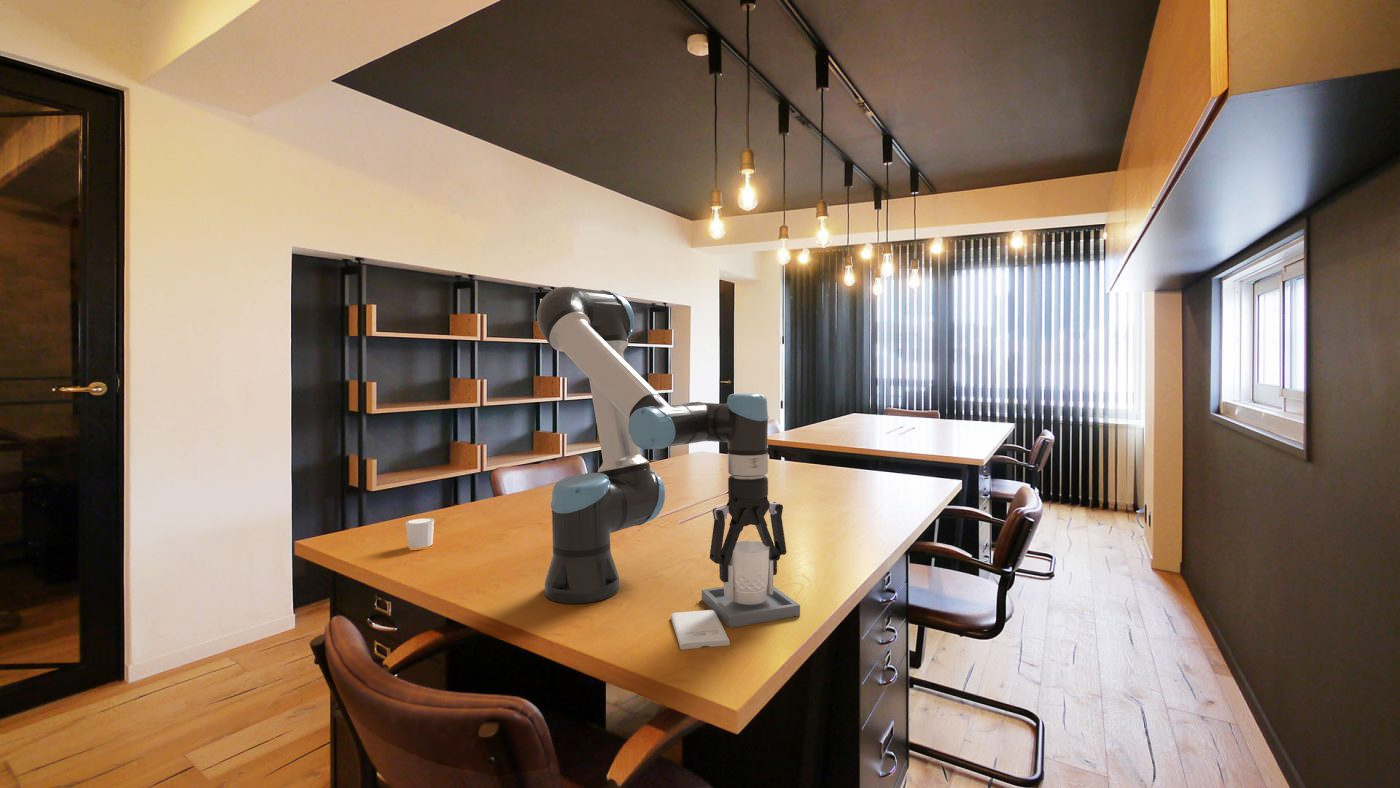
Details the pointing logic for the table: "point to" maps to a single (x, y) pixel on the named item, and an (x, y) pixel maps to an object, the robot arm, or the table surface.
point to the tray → (750, 608)
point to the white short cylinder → (420, 532)
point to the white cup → (750, 572)
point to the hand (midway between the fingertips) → (748, 594)
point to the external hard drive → (699, 629)
